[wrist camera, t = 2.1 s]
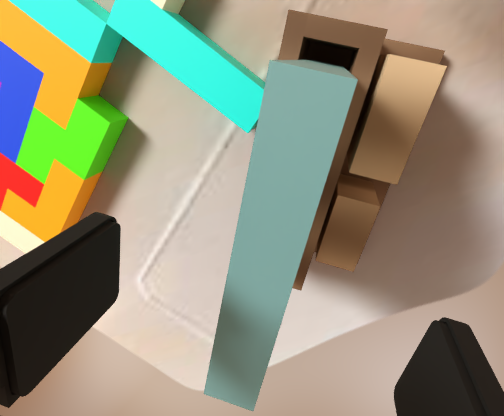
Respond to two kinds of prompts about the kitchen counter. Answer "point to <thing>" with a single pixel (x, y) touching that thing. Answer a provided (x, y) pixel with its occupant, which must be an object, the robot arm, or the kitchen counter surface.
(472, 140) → the kitchen counter surface
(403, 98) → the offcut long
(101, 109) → the puzzle game
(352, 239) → the offcut short
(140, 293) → the kitchen counter surface
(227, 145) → the kitchen counter surface
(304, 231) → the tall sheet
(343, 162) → the rack
